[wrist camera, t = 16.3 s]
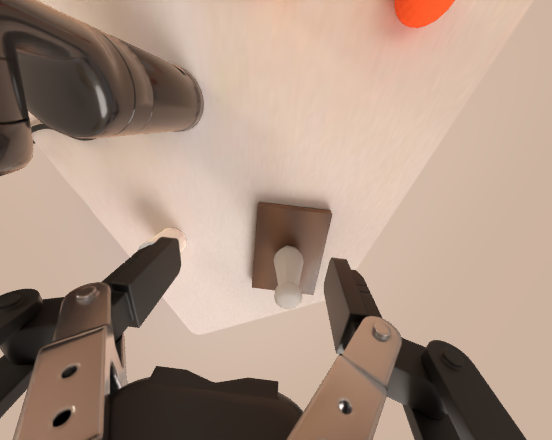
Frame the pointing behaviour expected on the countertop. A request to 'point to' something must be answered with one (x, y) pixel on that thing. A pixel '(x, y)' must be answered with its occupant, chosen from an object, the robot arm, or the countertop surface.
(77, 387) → the robot arm
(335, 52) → the countertop surface
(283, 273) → the salt shaker
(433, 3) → the clementine
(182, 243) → the white short cylinder
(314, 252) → the cutting board
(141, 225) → the countertop surface
